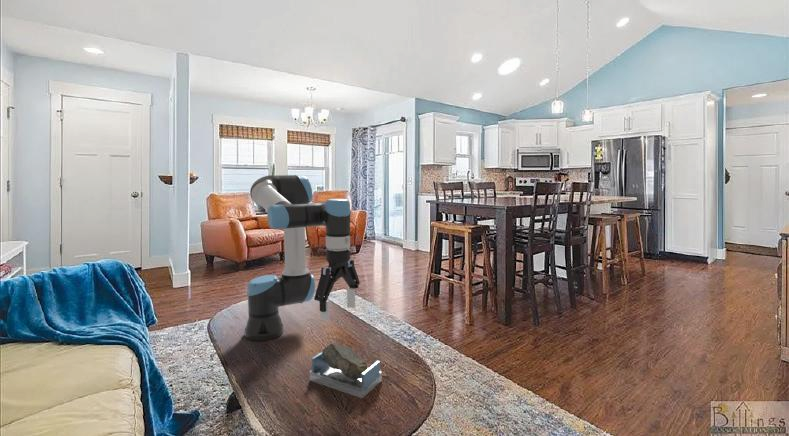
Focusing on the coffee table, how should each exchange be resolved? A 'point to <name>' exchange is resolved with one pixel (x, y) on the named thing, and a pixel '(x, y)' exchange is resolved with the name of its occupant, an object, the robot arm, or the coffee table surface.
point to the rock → (344, 360)
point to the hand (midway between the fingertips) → (338, 313)
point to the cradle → (344, 377)
